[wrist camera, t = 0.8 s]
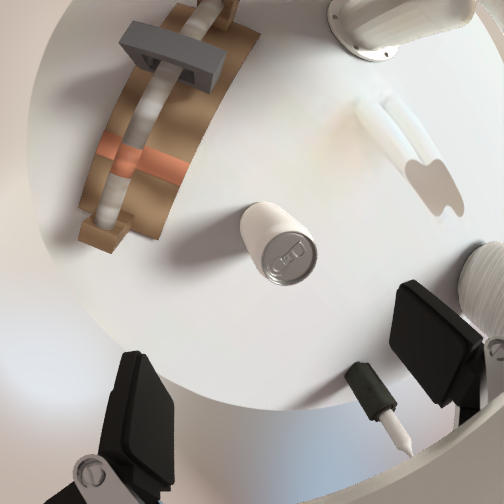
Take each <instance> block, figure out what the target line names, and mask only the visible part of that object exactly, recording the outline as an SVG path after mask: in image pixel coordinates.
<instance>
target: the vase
mask: <svg viewBox="0 0 504 504" xmlns="http://www.w3.org/2000/svg"><path fill="white" fill-rule="evenodd" d="M458 295H459V303H460V307H461V310H462V312H463V313H464V315H465V316H466V317H467V318H468V319H469V320H470V321H471V322H472V323H473V324H474V325H476V326H477V327H478V328H479V329H480V330H481V331H483V332H484V333H485V334H486V335H487V336H488V337H489V338H490V337H492V336H501V337H504V243H501V242H497V241H493V242H489V243H486V244H485V245H483V246H481V247H478V248H477V249H475V250H474V251H473V252H472V253H471V255H470V256H469V257H468V259H467V261H466V262H465V264H464V266H463V269H462V271H461V274H460V277H459V281H458Z"/></svg>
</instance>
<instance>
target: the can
mask: <svg viewBox="0 0 504 504" xmlns="http://www.w3.org/2000/svg"><path fill="white" fill-rule="evenodd" d="M240 233H241V236H242V239H243V241H244V243H245V245H246V247H247V249H248V252H249V254H250V256H251V258H252V260H253V262H254V264H255V266H256V268H257V269H258V271H259V272H260V273H261V274H262V275H263V276H264V277H265V278H267V279H269V280H270V281H271V282H273V283H275V284H278V285H283V286H289V285H294V284H297V283H299V282H301V281H303V280H304V279H305V278H307V277H308V276H309V275H310V273H311V272H312V271H313V269H314V267H315V265H316V261H317V248H316V245H315V243H314V240H313V237H312V235H311V234H310V232H309V231H308V230H307V229H306V228H305V227H304V226H303V225H301V224H300V223H299V222H298V221H297V220H295V219H294V218H293V217H292V216H290V215H289V214H288V213H287V212H285V211H284V210H283V209H281V208H280V207H279V206H277V205H275V204H273V203H270V202H259V203H256V204H253V205H252V206H250V207H249V208H248V209H247V210H246V211H245V212H244V213H243V215H242V217H241V220H240Z"/></svg>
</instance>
